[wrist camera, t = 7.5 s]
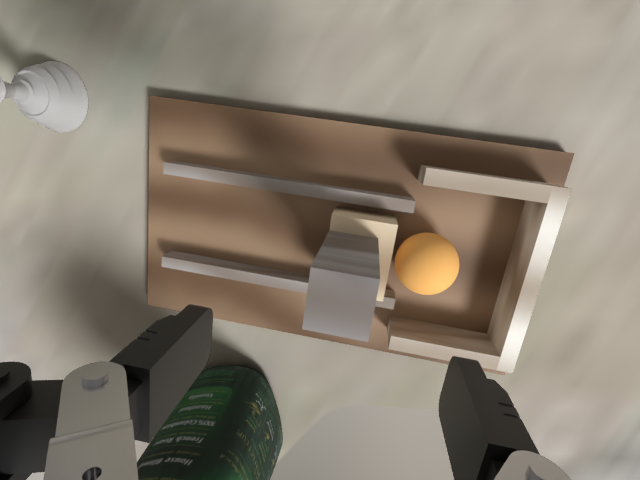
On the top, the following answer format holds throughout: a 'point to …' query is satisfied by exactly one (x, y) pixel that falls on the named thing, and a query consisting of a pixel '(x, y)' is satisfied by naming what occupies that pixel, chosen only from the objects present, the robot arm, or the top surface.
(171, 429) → the coffee jar
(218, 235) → the board
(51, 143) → the top surface
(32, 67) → the chalice
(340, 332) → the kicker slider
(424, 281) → the ball
